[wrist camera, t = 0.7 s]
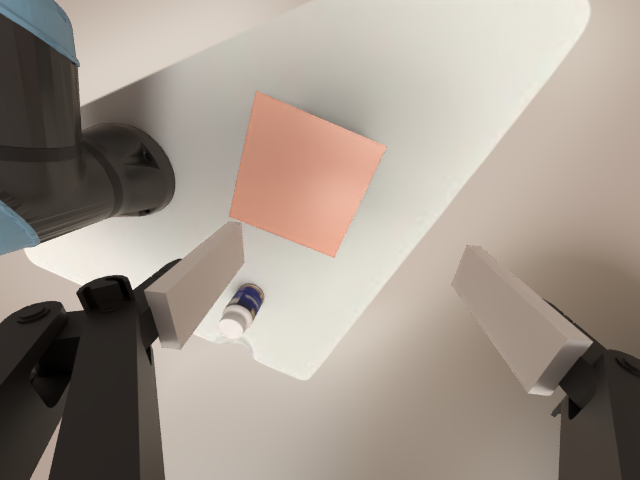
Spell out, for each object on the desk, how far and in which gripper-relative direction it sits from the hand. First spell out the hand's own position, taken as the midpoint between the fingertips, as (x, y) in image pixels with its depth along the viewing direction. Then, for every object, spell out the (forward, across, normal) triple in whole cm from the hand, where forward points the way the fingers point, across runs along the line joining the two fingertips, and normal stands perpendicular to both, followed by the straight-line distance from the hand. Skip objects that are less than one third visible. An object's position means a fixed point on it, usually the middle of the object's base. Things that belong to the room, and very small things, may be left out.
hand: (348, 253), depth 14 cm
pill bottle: (+27, -17, -26) cm, 41 cm away
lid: (+12, -5, +1) cm, 13 cm away
